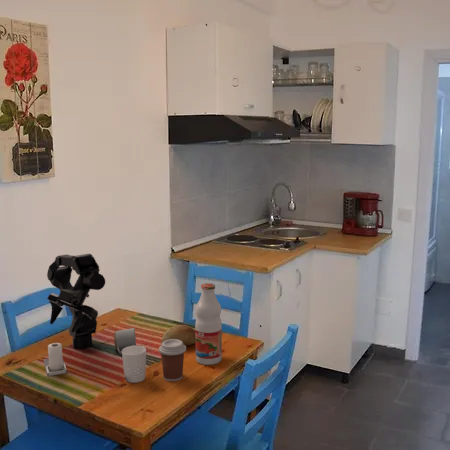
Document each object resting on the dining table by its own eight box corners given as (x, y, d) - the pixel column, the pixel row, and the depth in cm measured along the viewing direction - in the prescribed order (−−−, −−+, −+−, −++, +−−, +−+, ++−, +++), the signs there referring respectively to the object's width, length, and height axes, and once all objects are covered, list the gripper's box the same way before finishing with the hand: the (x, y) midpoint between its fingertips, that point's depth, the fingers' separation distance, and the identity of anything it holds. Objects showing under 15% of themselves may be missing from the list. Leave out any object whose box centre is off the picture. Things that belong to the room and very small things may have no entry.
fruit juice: (227, 359, 196) (226, 284, 191) (210, 367, 188) (209, 290, 184) (207, 352, 201) (206, 279, 197) (190, 361, 194) (189, 285, 190)
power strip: (43, 363, 193) (43, 356, 192) (62, 360, 195) (62, 353, 195) (47, 380, 179) (47, 373, 179) (67, 377, 182) (67, 370, 181)
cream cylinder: (62, 367, 186) (60, 341, 185) (63, 372, 182) (62, 345, 181) (48, 369, 184) (47, 343, 183) (50, 374, 180) (48, 348, 179)
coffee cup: (175, 385, 175) (175, 350, 173) (153, 378, 180) (152, 344, 178) (192, 374, 183) (191, 341, 181) (170, 368, 188) (169, 336, 186)
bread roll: (203, 346, 208) (203, 326, 206) (166, 353, 201) (166, 333, 200) (193, 338, 216) (193, 319, 215) (157, 345, 209) (157, 325, 208)
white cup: (127, 385, 175) (126, 356, 174) (120, 376, 182) (118, 348, 181) (150, 380, 179) (149, 351, 177) (142, 371, 186) (141, 343, 184)
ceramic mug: (114, 346, 208) (113, 327, 207) (135, 344, 210) (134, 325, 209) (115, 357, 198) (114, 337, 197) (137, 355, 200) (136, 335, 199)
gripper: (50, 272, 192) (28, 313, 186) (94, 288, 185) (72, 330, 180) (65, 283, 201) (44, 322, 196) (106, 298, 195) (87, 339, 190)
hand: (61, 328), depth 190 cm, fingers open, 9 cm apart
